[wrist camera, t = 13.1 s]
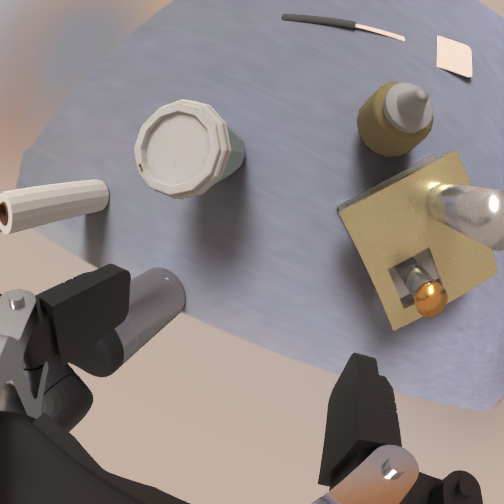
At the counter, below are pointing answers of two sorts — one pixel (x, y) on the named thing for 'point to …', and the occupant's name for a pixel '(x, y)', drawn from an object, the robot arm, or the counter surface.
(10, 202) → the paper towel roll
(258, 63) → the counter surface
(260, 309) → the counter surface
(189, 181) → the disposable coffee cup
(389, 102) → the squeeze bottle
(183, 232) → the counter surface
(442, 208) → the tan and silver stand
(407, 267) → the copper-capped metal rod
